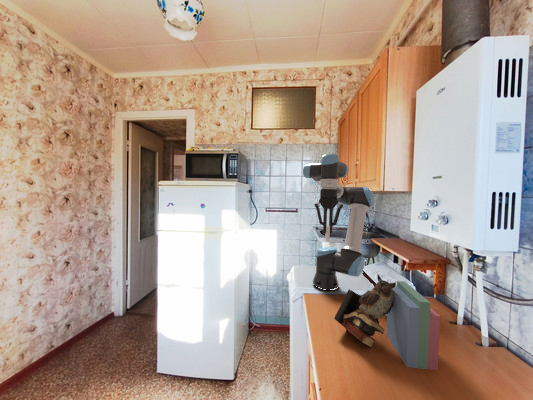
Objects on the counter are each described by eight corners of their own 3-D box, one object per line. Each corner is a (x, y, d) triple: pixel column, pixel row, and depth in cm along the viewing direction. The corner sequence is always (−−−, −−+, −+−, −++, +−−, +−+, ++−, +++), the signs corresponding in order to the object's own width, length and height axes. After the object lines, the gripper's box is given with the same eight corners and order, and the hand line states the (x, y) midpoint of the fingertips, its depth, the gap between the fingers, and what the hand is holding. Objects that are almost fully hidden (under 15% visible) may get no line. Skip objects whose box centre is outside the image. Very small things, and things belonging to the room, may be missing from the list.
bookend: (331, 320, 85) (357, 264, 89) (349, 328, 89) (373, 274, 93) (359, 345, 71) (389, 277, 75) (379, 353, 75) (406, 288, 79)
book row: (386, 334, 84) (388, 280, 83) (411, 337, 83) (413, 282, 82) (406, 367, 68) (409, 300, 67) (437, 371, 67) (441, 303, 66)
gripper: (314, 188, 93) (313, 241, 94) (345, 188, 91) (343, 242, 92) (313, 188, 101) (312, 237, 102) (342, 189, 99) (340, 239, 100)
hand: (327, 239), depth 97 cm, fingers closed
